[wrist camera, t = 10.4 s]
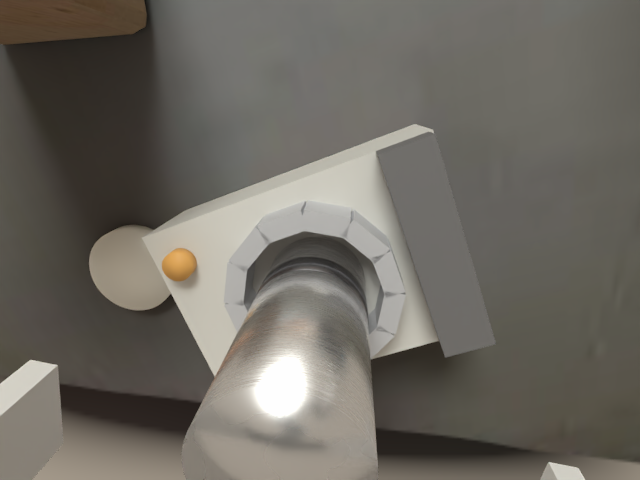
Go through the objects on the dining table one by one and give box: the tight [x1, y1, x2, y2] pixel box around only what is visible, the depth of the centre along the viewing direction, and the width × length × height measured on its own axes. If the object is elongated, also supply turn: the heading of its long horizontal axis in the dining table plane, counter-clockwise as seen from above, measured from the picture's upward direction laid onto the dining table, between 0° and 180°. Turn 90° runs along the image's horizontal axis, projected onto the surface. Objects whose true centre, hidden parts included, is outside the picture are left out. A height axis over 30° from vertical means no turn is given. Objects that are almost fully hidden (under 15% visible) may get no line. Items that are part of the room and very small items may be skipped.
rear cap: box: [89, 225, 171, 310], centre depth 29 cm, size 6×6×2 cm
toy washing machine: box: [142, 124, 496, 376], centre depth 24 cm, size 16×11×8 cm
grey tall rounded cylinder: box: [182, 237, 378, 480], centre depth 16 cm, size 5×5×12 cm
